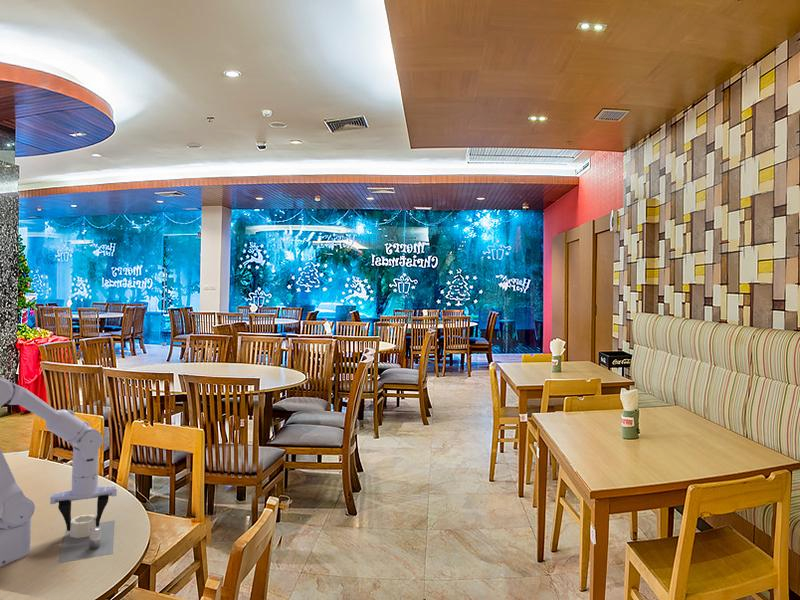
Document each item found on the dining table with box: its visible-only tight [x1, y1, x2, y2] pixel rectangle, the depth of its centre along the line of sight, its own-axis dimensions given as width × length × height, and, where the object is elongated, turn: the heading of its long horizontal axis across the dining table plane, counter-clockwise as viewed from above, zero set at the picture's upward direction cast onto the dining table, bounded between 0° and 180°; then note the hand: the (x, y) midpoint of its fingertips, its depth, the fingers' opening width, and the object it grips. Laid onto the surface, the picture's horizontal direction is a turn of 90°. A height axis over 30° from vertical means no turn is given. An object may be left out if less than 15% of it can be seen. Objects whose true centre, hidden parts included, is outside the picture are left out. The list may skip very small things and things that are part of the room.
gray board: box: [57, 520, 116, 564], centre depth 130 cm, size 20×11×1 cm, turn 28°
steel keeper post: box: [89, 527, 101, 550], centre depth 126 cm, size 2×2×4 cm
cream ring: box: [70, 513, 97, 538], centre depth 134 cm, size 6×6×4 cm
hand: (83, 527), depth 134 cm, fingers closed on cream ring, 6 cm apart
